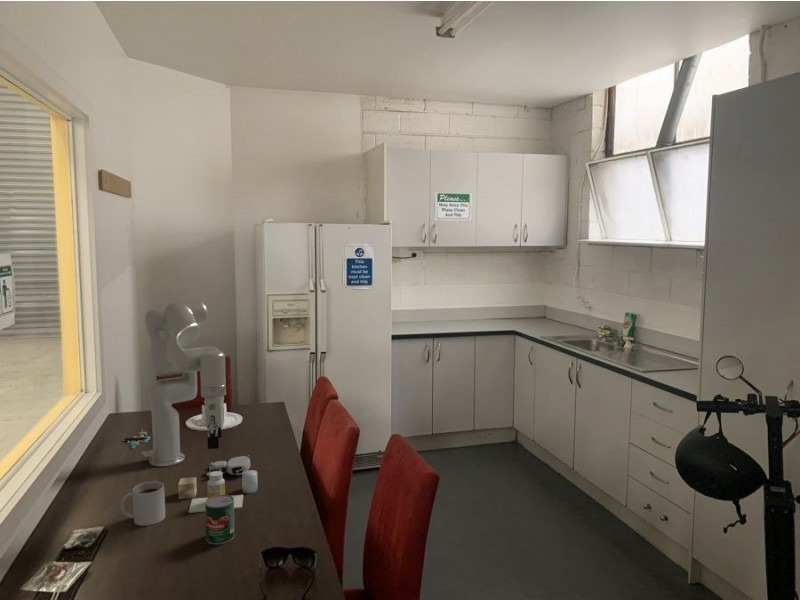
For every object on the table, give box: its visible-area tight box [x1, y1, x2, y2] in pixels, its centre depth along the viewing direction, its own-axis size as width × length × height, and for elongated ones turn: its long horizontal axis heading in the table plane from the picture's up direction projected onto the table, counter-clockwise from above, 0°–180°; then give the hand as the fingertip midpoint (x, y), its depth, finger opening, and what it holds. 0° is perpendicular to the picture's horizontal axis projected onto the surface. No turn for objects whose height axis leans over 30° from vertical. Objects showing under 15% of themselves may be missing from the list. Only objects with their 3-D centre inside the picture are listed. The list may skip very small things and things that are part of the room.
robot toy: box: [205, 454, 252, 477], centre depth 214 cm, size 12×4×15 cm
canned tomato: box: [204, 494, 236, 545], centre depth 168 cm, size 8×8×11 cm
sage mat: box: [188, 494, 244, 514], centre depth 189 cm, size 16×9×1 cm, turn 102°
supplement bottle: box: [206, 471, 226, 498], centre depth 189 cm, size 5×5×10 cm
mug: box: [120, 481, 166, 527], centre depth 178 cm, size 11×10×10 cm
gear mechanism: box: [124, 428, 151, 449], centre depth 247 cm, size 20×5×9 cm
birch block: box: [177, 476, 198, 500], centre depth 195 cm, size 5×5×5 cm
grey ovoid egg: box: [241, 469, 259, 494], centre depth 199 cm, size 5×5×6 cm
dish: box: [185, 396, 243, 432], centre depth 272 cm, size 25×25×11 cm
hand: (214, 443), depth 187 cm, fingers open, 9 cm apart
